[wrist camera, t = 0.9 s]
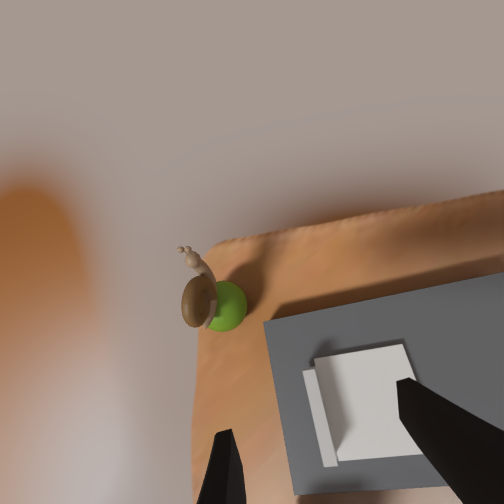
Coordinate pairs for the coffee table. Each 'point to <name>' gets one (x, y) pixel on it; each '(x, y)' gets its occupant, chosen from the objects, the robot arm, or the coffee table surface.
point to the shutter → (359, 404)
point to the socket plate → (421, 361)
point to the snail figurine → (211, 298)
